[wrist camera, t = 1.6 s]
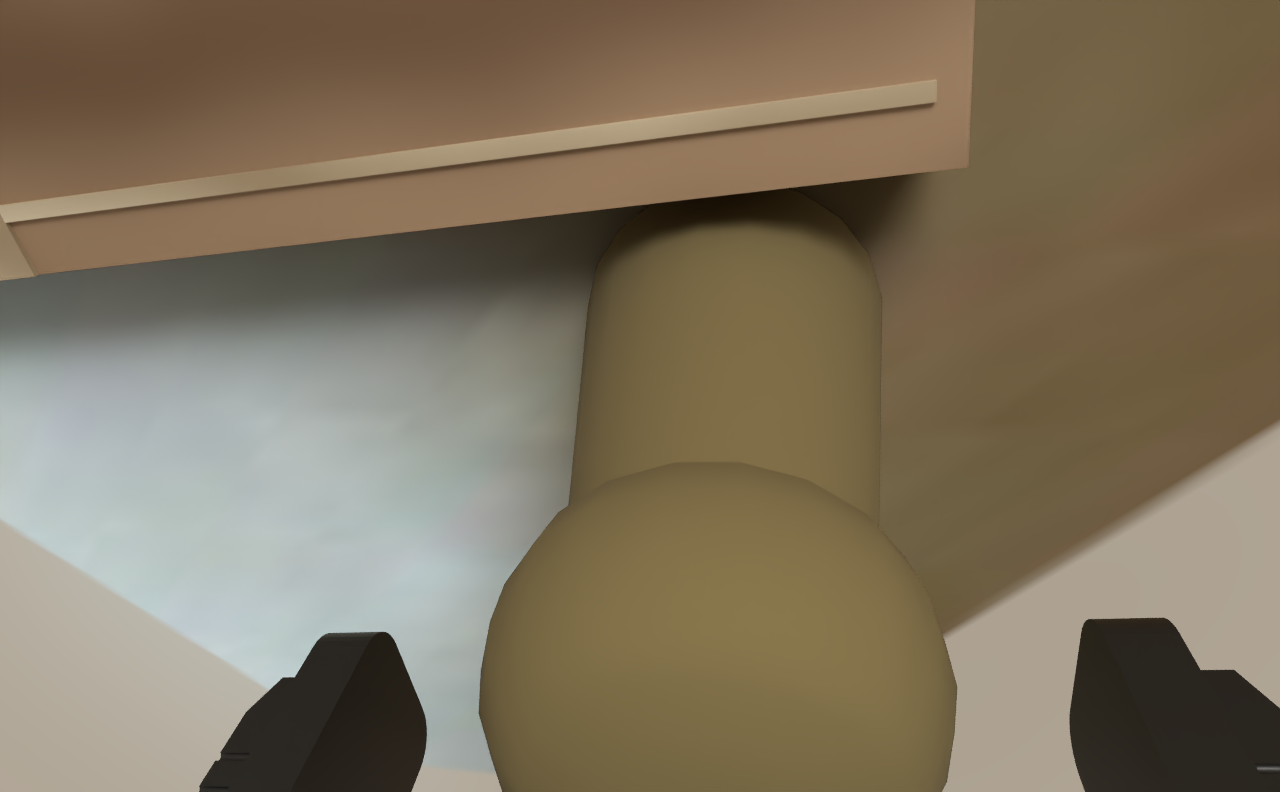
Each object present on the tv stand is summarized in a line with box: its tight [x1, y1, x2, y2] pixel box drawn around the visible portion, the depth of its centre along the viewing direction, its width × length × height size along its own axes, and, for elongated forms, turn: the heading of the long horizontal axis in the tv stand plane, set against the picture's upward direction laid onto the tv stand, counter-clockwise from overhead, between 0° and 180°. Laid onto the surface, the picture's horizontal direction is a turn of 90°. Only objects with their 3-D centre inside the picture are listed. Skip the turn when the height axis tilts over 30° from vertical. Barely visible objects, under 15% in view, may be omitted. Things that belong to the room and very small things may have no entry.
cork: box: [479, 188, 957, 792], centre depth 13 cm, size 6×6×11 cm
